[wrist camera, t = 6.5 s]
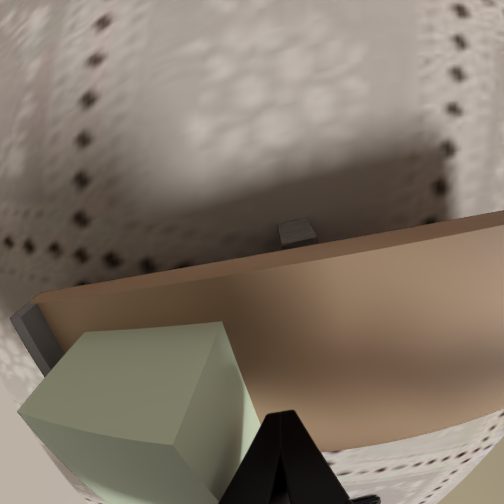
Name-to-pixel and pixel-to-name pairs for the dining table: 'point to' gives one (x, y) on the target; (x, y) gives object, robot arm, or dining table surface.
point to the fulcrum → (297, 234)
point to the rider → (147, 413)
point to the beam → (327, 326)
